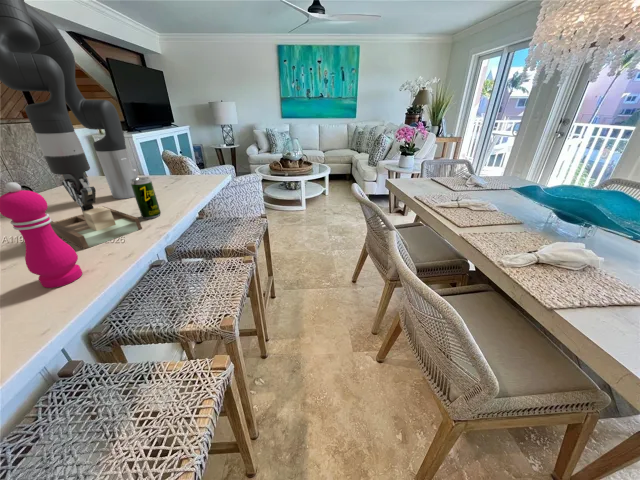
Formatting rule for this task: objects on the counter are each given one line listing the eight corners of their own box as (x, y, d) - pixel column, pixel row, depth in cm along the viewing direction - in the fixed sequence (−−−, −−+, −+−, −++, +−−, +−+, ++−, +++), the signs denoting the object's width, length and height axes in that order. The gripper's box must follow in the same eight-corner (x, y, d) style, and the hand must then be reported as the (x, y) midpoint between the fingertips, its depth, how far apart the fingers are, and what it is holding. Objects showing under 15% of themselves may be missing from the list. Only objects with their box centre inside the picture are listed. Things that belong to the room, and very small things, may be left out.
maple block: (107, 221, 74) (101, 206, 72) (115, 224, 72) (109, 209, 70) (88, 227, 71) (82, 211, 69) (97, 230, 69) (90, 214, 67)
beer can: (138, 218, 83) (125, 180, 77) (152, 212, 87) (141, 176, 82) (151, 220, 81) (139, 181, 76) (165, 214, 86) (154, 177, 80)
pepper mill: (58, 270, 57) (8, 177, 48) (94, 268, 57) (50, 176, 48) (28, 291, 50) (-37, 188, 41) (68, 288, 51) (13, 187, 42)
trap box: (106, 215, 85) (102, 206, 83) (142, 228, 76) (138, 218, 74) (50, 232, 74) (45, 221, 72) (84, 249, 65) (78, 237, 63)
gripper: (95, 152, 64) (118, 218, 73) (70, 147, 70) (95, 208, 78) (56, 157, 59) (86, 228, 67) (32, 151, 64) (63, 216, 73)
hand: (91, 217), depth 73 cm, fingers closed
